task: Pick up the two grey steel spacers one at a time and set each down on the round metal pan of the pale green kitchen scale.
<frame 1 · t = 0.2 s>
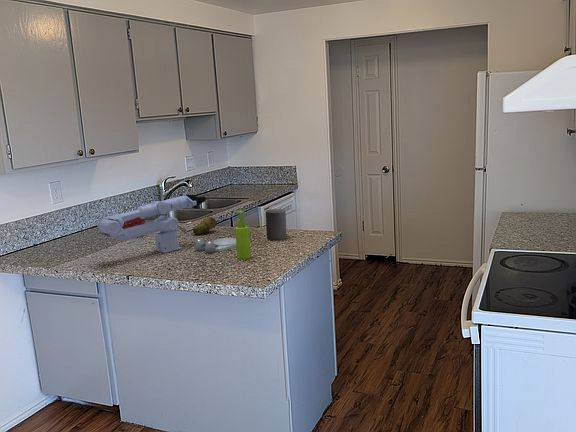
hand: (200, 197, 267), 21 cm above the counter, tool horizontal, fingers open, 7 cm apart
spacer a: (199, 250, 253), on the counter
spacer b: (210, 252, 248), on the counter
pillar candle: (277, 238, 267), on the counter
soap dispenser: (243, 257, 236), on the counter
plant pot: (133, 236, 292), on the counter
scale: (222, 245, 259), on the counter
potato: (205, 233, 289), on the counter
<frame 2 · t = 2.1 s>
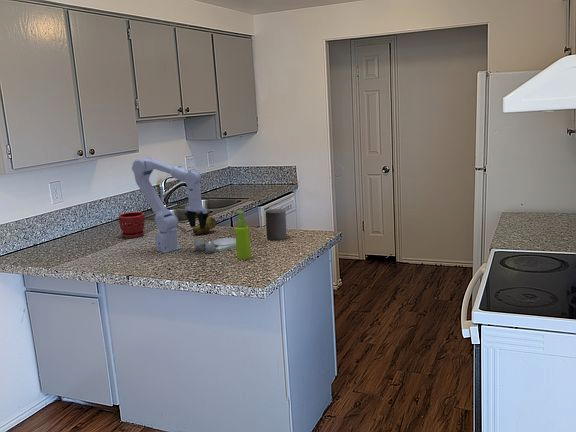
hand: (197, 227, 251), 10 cm above the counter, tool pointing down, fingers open, 7 cm apart
nothing on the counter moved.
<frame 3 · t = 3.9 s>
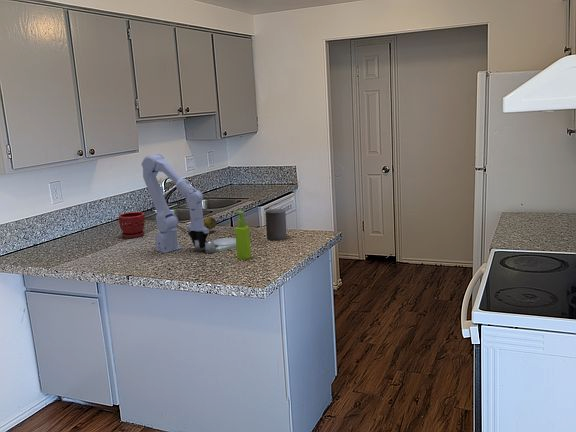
hand: (199, 247, 253), 1 cm above the counter, tool pointing down, fingers closed on spacer a, 4 cm apart
spacer a: (199, 250, 253), on the counter, touching gripper
everything else where it was.
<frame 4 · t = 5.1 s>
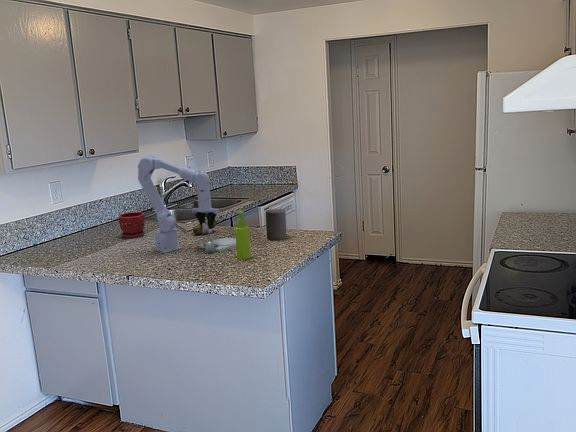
hand: (207, 228, 256), 9 cm above the counter, tool pointing down, fingers closed on spacer a, 4 cm apart
spacer a: (207, 232, 256), point 7 cm above the counter, touching gripper
everything else where it was.
when the fingers open (4 cm above the counter, at t = 6.8 s): spacer a stays where it is, resting on scale.
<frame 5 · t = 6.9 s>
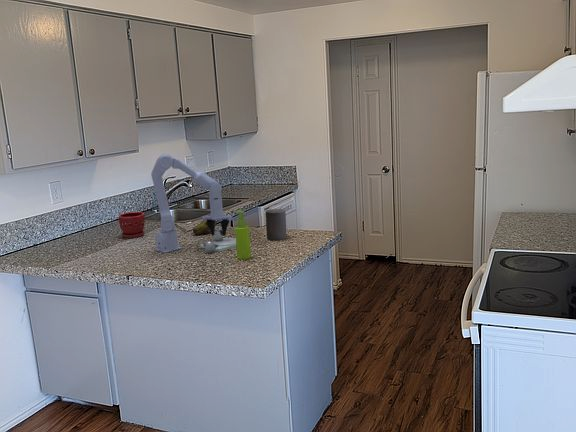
hand: (218, 235, 262), 4 cm above the counter, tool pointing down, fingers open, 5 cm apart
spacer a: (218, 240, 262), point 2 cm above the counter, touching scale
everything else where it was.
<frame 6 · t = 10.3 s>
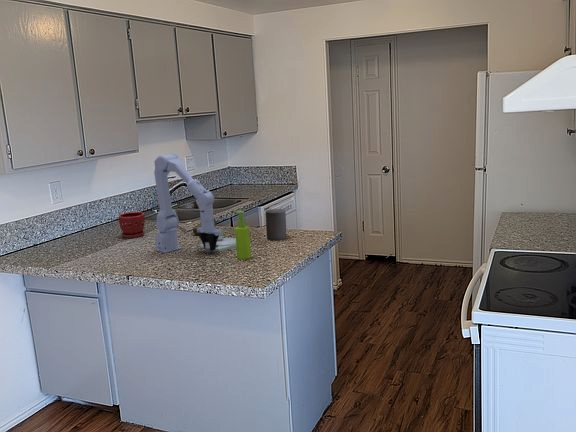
hand: (210, 249, 247), 1 cm above the counter, tool pointing down, fingers closed on spacer b, 4 cm apart
spacer b: (210, 252, 248), on the counter, touching gripper
everything else where it was.
when the fingers open (4 cm above the counter, at t = 13.0 s): spacer b stays where it is, resting on scale.
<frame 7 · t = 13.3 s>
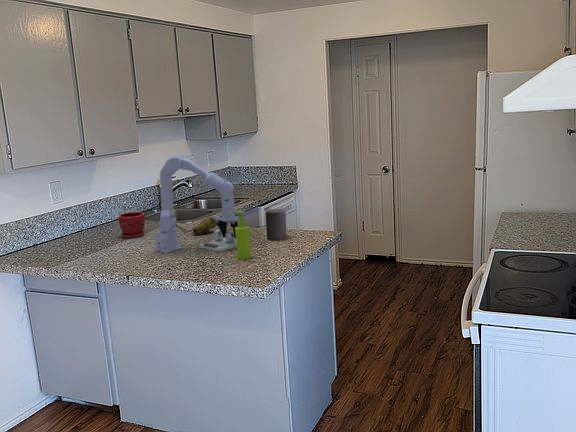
hand: (230, 237, 256), 4 cm above the counter, tool pointing down, fingers open, 6 cm apart
spacer b: (230, 242, 256), point 2 cm above the counter, touching scale
everything else where it was.
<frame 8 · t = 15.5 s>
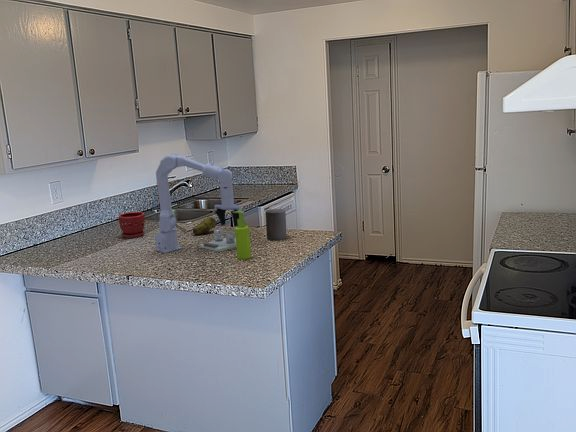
hand: (229, 225, 255), 10 cm above the counter, tool pointing down, fingers open, 7 cm apart
nothing on the counter moved.
at the end: spacer a inside the target area on the scale (4.3 cm from its centre), point 1.8 cm above the scale's base; spacer b inside the target area on the scale (4.6 cm from its centre), point 1.8 cm above the scale's base; spacer b tilted 0° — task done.
